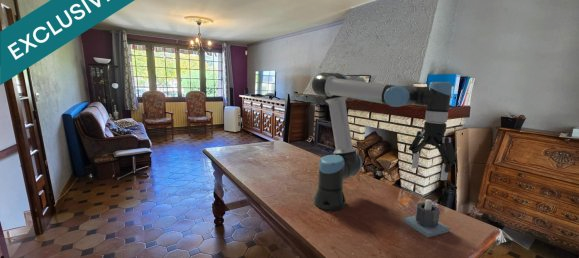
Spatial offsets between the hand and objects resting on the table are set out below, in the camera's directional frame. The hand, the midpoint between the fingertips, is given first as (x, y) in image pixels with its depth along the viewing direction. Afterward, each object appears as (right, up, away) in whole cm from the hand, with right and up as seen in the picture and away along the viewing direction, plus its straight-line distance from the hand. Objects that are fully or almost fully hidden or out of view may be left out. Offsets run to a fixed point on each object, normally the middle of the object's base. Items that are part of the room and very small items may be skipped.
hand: (428, 173), depth 101 cm
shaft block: (0, -23, +3) cm, 23 cm away
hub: (0, -20, +2) cm, 20 cm away
